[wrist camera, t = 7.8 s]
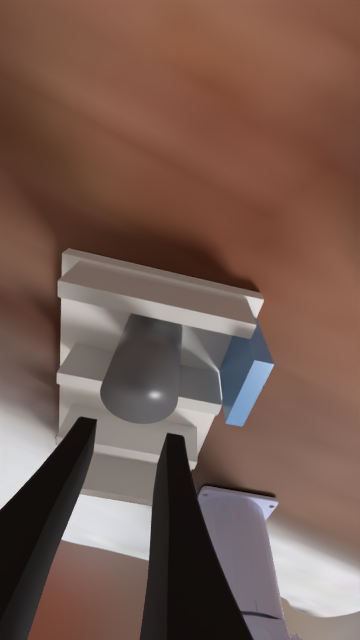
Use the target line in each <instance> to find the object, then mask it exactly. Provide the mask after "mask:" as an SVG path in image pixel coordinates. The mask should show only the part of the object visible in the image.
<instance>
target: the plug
mask: <svg viewBox="0 0 360 640" xmlns="http://www.w3.org/2000/svg"><path fill="white" fill-rule="evenodd" d="M182 330H183V328H182V324H178V323H174V322H169V321H165V320H160V319H156V318H151V317H146V316H142V315H137V314H133V313H131V314H130V316H129V318H128V321H127V323H126V325H125V328H124V330H123V333H122V335H121V338H120V340H119V343H118V345H117V348H116V350H115V353H114V355H113V357H112V360H111V362H110V365H109V367H108V370H107V372H106V375H105V377H104V380H103V382H102V384H101V388H100V396H101V400H102V402H103V404H104V405H105V407H106V408H107V409H108V410H109V411H110V412H111V413H112V414H113V415H115V416H116V417H118V418H120V419H122V420H125V421H128V422H132V423H137V424H150V423H155V422H159V421H161V420H163V419H165V418H167V417H168V416H170V415H171V414H172V413H173V411H174V410H175V408H176V406H177V403H178V391H179V376H180V361H181V346H182Z"/></svg>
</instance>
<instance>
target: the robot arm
mask: <svg viewBox="0 0 360 640" xmlns="http://www.w3.org/2000/svg"><path fill="white" fill-rule="evenodd" d="M96 427H97V419H93V418H88V417H82V416H81V417H79V418H78V419H77V420H76V422H75V423H74V425H73V426H72V428H71V429H70V430H69V432H68V433H67V435H66V436H65V437H64V439H63V440H62V441H61V442H60V444H59V445H58V446H57V448H56V449H55V450H54V451H53V452H52V454H51V455H50V456H49V457H48V458H47V460H46V461H45V462H44V463H43V464H42V466H41V467H40V468H39V469H38V470H37V471H36V472H35V474H34V475H33V476H32V477H31V478H30V479H29V480H28V481H27V482H26V483H25V484H24V486H23V487H22V488H21V489H20V490H19V491H18V492H17V493H16V494H15V495H14V496H13V497H12V498H11V499H10V500H9V501H8V502H7V504H6V505H5V506H4V507H3V508H2V509H1V510H0V640H27V638H28V635H29V632H30V629H31V626H32V623H33V620H34V617H35V613H36V610H37V607H38V604H39V601H40V598H41V595H42V592H43V589H44V586H45V583H46V579H47V576H48V573H49V570H50V567H51V564H52V562H53V559H54V556H55V554H56V551H57V548H58V546H59V543H60V541H61V538H62V536H63V533H64V531H65V529H66V526H67V524H68V521H69V519H70V516H71V514H72V511H73V509H74V506H75V504H76V501H77V499H78V497H79V494H80V492H81V489H82V487H83V484H84V482H85V479H86V475H87V472H88V469H89V466H90V462H91V459H92V456H93V452H94V443H95V435H96ZM277 505H278V500H277V499H276V498H274V497H268V496H262V495H256V494H251V493H245V492H239V491H234V490H228V489H222V488H216V487H211V486H204V487H202V489H201V491H200V493H199V495H198V497H197V494H196V490H195V486H194V483H193V479H192V475H191V470H190V466H189V461H188V456H187V451H186V444H185V438H184V436H183V435H178V434H173V433H167V435H166V438H165V441H164V444H163V447H162V451H161V454H160V457H159V460H158V463H157V469H156V476H155V483H154V490H153V502H152V519H151V537H150V555H149V569H148V580H147V589H146V596H145V604H144V612H143V619H142V627H141V634H140V640H301V639H300V637H299V635H298V634H291V638H290V635H289V631H288V629H287V625H286V622H285V618H284V613H283V608H282V603H281V598H280V593H279V588H278V583H277V577H276V572H275V567H274V562H273V557H272V552H271V547H270V542H269V537H268V532H267V527H266V522H265V520H266V519H267V518H268V517H269V515H270V514H271V513H272V511H273V510H274V509H275V508H276V506H277Z"/></svg>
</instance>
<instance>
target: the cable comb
mask: <svg viewBox="0 0 360 640" xmlns="http://www.w3.org/2000/svg"><path fill="white" fill-rule="evenodd" d="M58 297H60V298H61V345H60V368H59V370H58V371H57V384H60V402H59V432H58V434H57V436H56V445H59V444H60V442H61V441H62V440H63V439H64V437H65V436H66V435H67V433H68V432H69V430H70V429H71V428H72V426H73V425H74V423H75V422H76V420H77V419H78V418H79V417H81V416H82V417H88V418H93V419H97V427H96V435H95V443H94V452H93V456H92V459H91V462H90V466H89V469H88V472H87V475H86V479H85V482H84V484H83V487H82V489H81V492H80V494H83V495H89V496H95V497H101V498H107V499H113V500H119V501H125V502H131V503H137V504H143V505H149V506H152V502H153V490H154V483H155V476H156V469H157V463H158V460H159V457H160V454H161V451H162V447H163V444H164V441H165V438H166V435H167V433H173V434H178V435H183V436H184V438H185V444H186V451H187V456H188V461H189V466H190V470H192V469H195V466H196V464H197V456H198V454H199V452H200V449H201V447H202V445H203V442H204V440H205V438H206V435H207V433H208V431H209V428H210V426H211V424H212V421H213V419H214V416H215V415H218V413H219V411H220V409H221V406H222V401H221V400H222V399H223V407H224V416H225V423H227V424H232V425H237V426H243V424H244V423H245V421H246V419H247V417H248V415H249V413H250V411H251V409H252V407H253V405H254V403H255V401H256V399H257V397H258V395H259V393H260V391H261V389H262V387H263V385H264V384H265V382H266V380H267V378H268V376H269V374H270V372H271V370H272V368H273V366H274V362H273V360H272V357H271V355H270V352H269V349H268V347H267V344H266V342H265V339H264V337H263V334H262V331H261V329H260V326H259V324H258V321H257V319H256V318H257V316H258V313H259V311H260V309H261V306H262V304H263V301H264V299H263V297H262V294H261V293H259V292H255V291H250V290H246V289H242V288H238V287H233V286H229V285H225V284H220V283H216V282H212V281H208V280H203V279H199V278H195V277H190V276H186V275H182V274H178V273H173V272H169V271H165V270H160V269H156V268H152V267H148V266H143V265H139V264H135V263H130V262H126V261H122V260H118V259H113V258H109V257H105V256H100V255H96V254H92V253H88V252H83V251H79V250H75V249H70V248H68V249H67V250H66V251H64V252H63V253H62V277H61V278H60V279H59V280H58ZM131 313H133V314H137V315H142V316H146V317H151V318H156V319H160V320H165V321H169V322H174V323H178V324H182V328H183V330H182V346H181V361H180V376H179V391H178V403H177V406H176V408H175V410H174V411H173V413H172V414H171V415H170V416H168V417H167V418H165V419H163V420H161V421H159V422H155V423H150V424H137V423H132V422H128V421H125V420H122V419H120V418H118V417H116V416H115V415H113V414H112V413H111V412H110V411H109V410H108V409H107V408H106V407H105V405H104V404H103V402H102V400H101V396H100V388H101V384H102V382H103V380H104V377H105V375H106V372H107V370H108V367H109V365H110V362H111V360H112V357H113V355H114V353H115V350H116V348H117V345H118V343H119V340H120V338H121V335H122V333H123V330H124V328H125V325H126V323H127V321H128V318H129V316H130V314H131Z"/></svg>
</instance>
